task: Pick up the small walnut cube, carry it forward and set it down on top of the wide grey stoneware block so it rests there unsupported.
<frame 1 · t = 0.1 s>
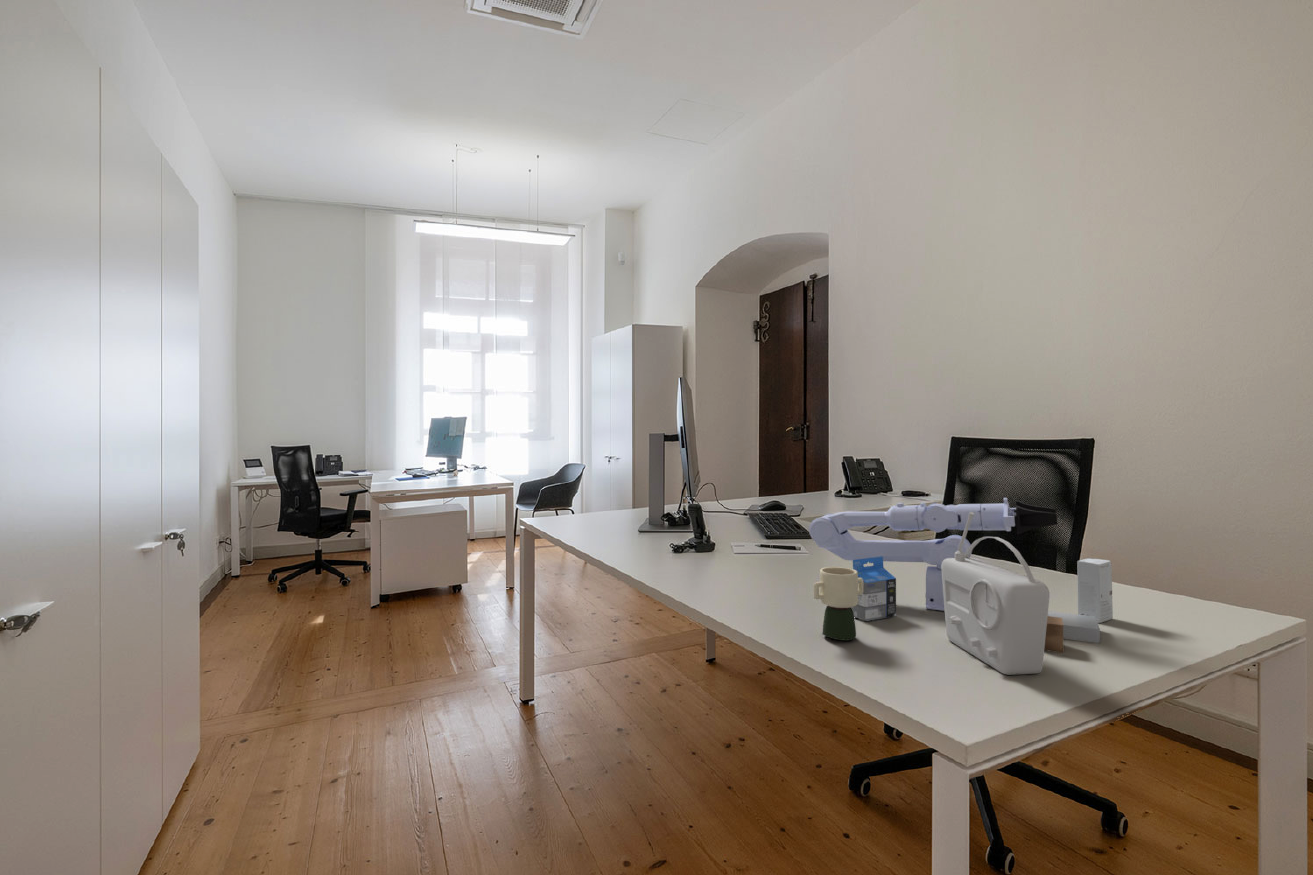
hand: (1056, 516, 128), 22 cm above the table, tool horizontal, fingers open, 7 cm apart
walnut cube: (1046, 646, 114), on the table
character mug: (839, 639, 119), on the table
stoneware block: (1069, 634, 121), on the table
ink cartridge box: (874, 618, 132), on the table
skincare box: (1094, 619, 130), on the table
radio: (987, 657, 109), on the table
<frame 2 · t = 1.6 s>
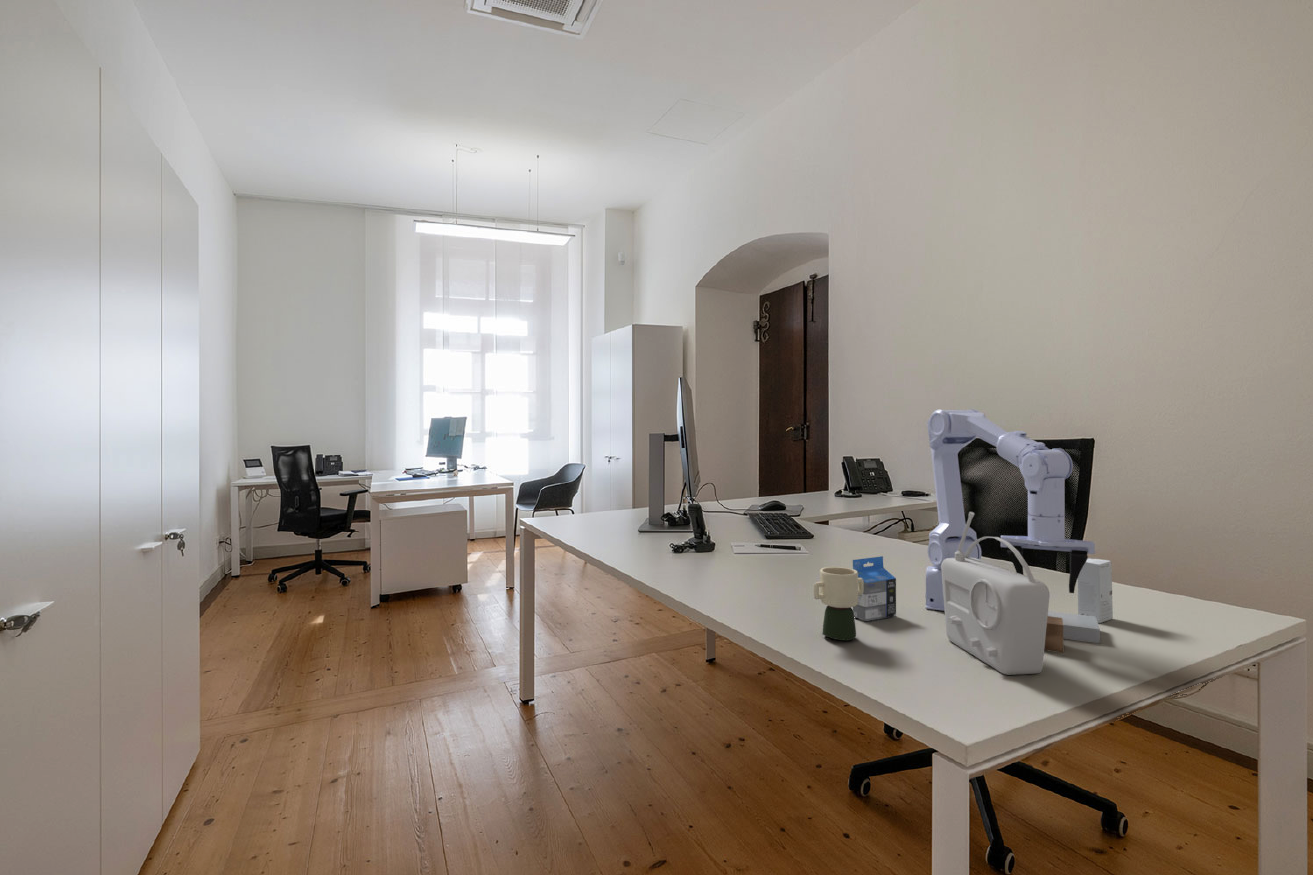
hand: (1046, 589, 114), 10 cm above the table, tool pointing down, fingers open, 7 cm apart
nothing on the table moved.
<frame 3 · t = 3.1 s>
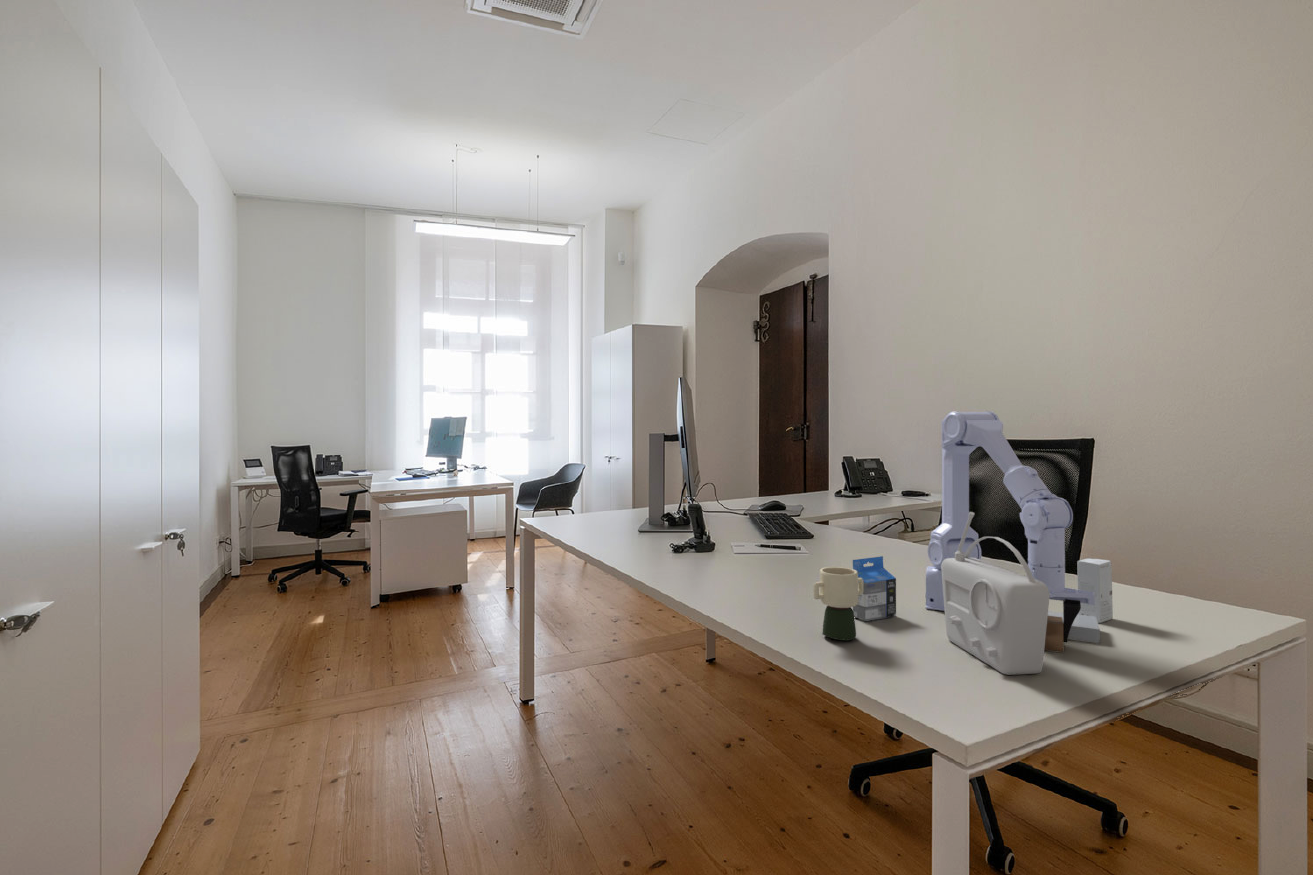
hand: (1046, 638, 114), 1 cm above the table, tool pointing down, fingers closed on walnut cube, 5 cm apart
walnut cube: (1046, 645, 114), on the table, touching gripper
everything else where it was.
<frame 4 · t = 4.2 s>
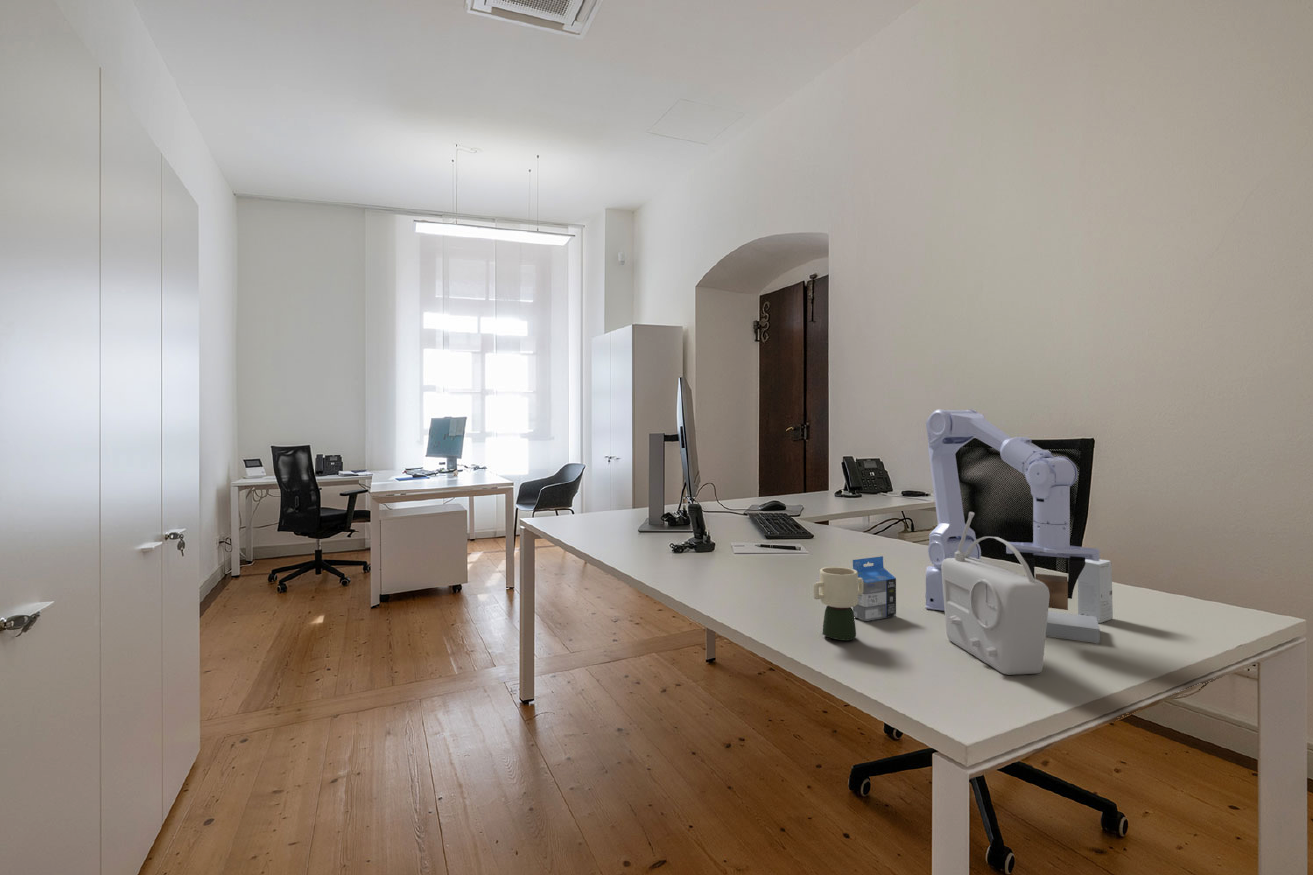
hand: (1051, 595, 115), 9 cm above the table, tool pointing down, fingers closed on walnut cube, 5 cm apart
walnut cube: (1051, 604, 115), point 7 cm above the table, touching gripper
everything else where it was.
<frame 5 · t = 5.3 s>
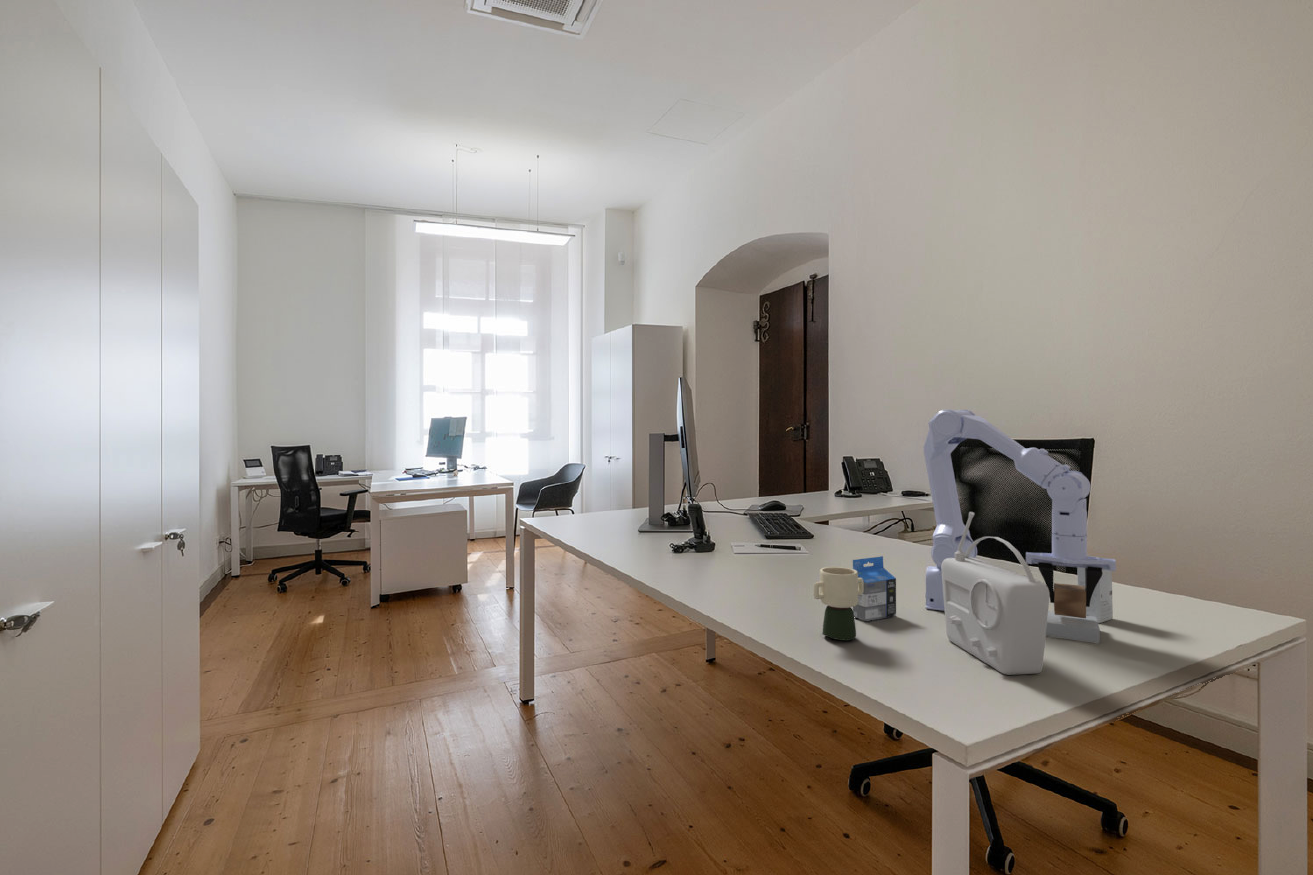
hand: (1069, 603, 121), 6 cm above the table, tool pointing down, fingers closed on walnut cube, 5 cm apart
walnut cube: (1069, 612, 121), point 4 cm above the table, touching gripper
everything else where it was.
when the fingers open (6 cm above the table, at t = 5.7 s): walnut cube drops 1 cm, point 2 cm above the table.
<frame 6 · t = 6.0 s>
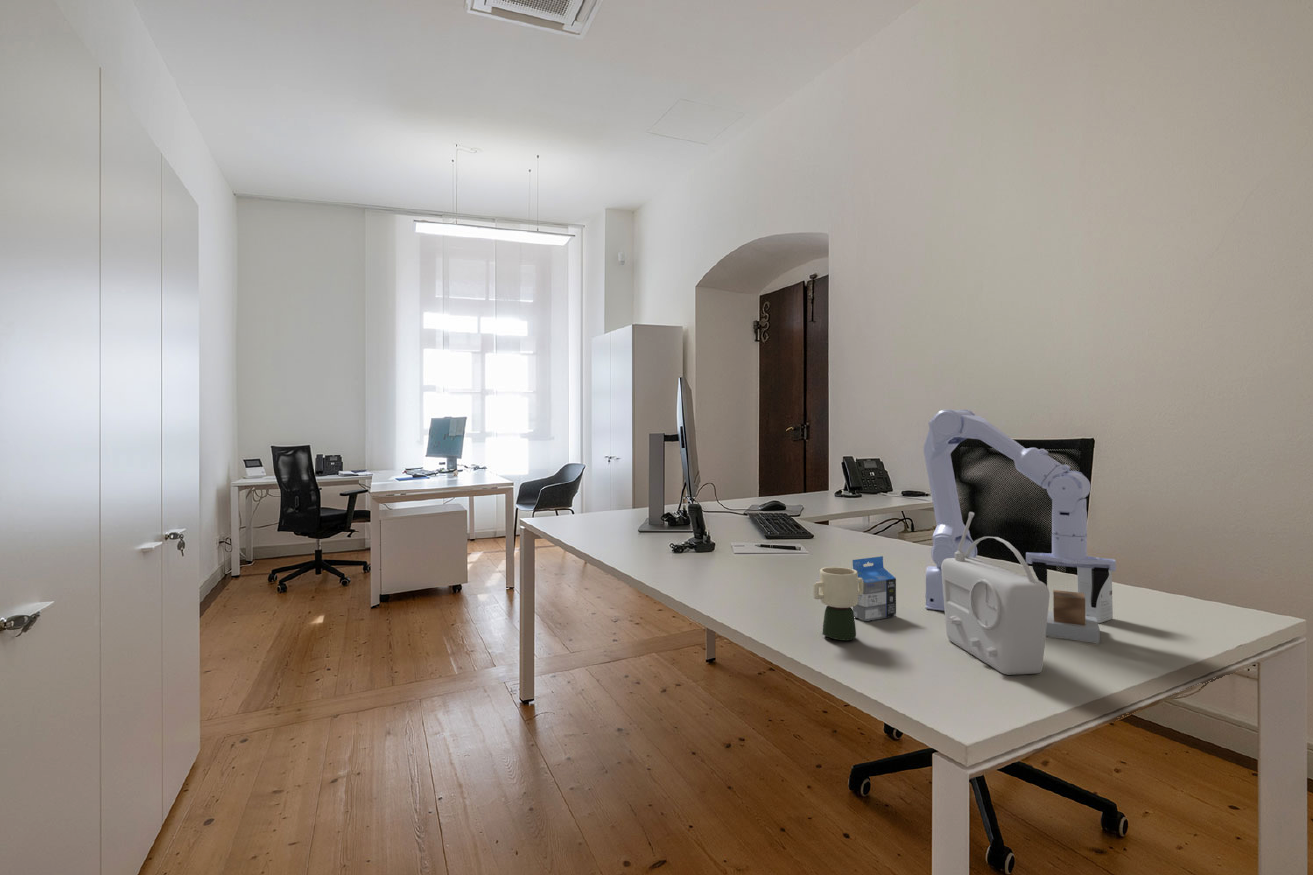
hand: (1069, 603, 121), 6 cm above the table, tool pointing down, fingers open, 7 cm apart
walnut cube: (1068, 619, 121), point 2 cm above the table
everything else where it was.
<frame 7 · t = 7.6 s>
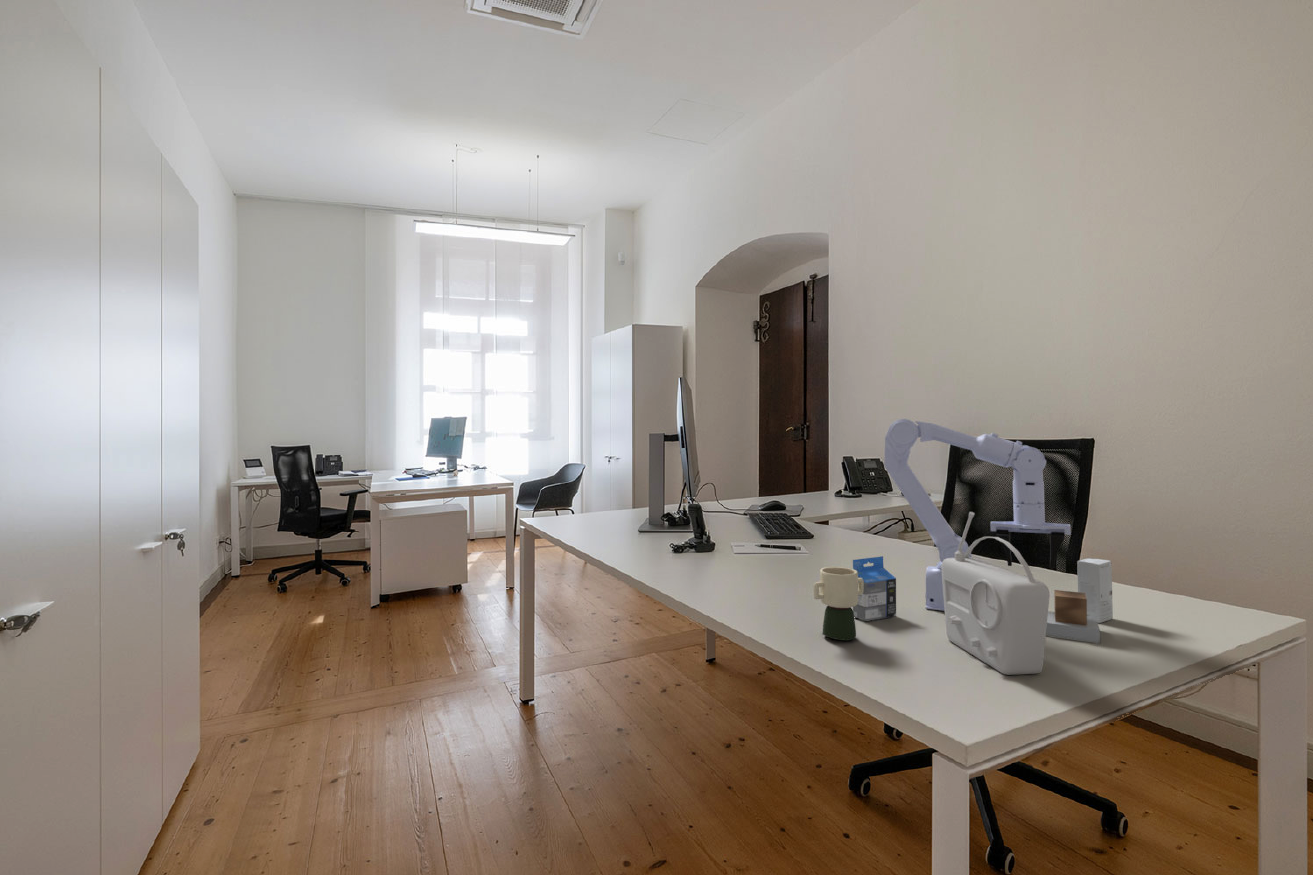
hand: (1030, 566, 132), 10 cm above the table, tool pointing down, fingers open, 7 cm apart
nothing on the table moved.
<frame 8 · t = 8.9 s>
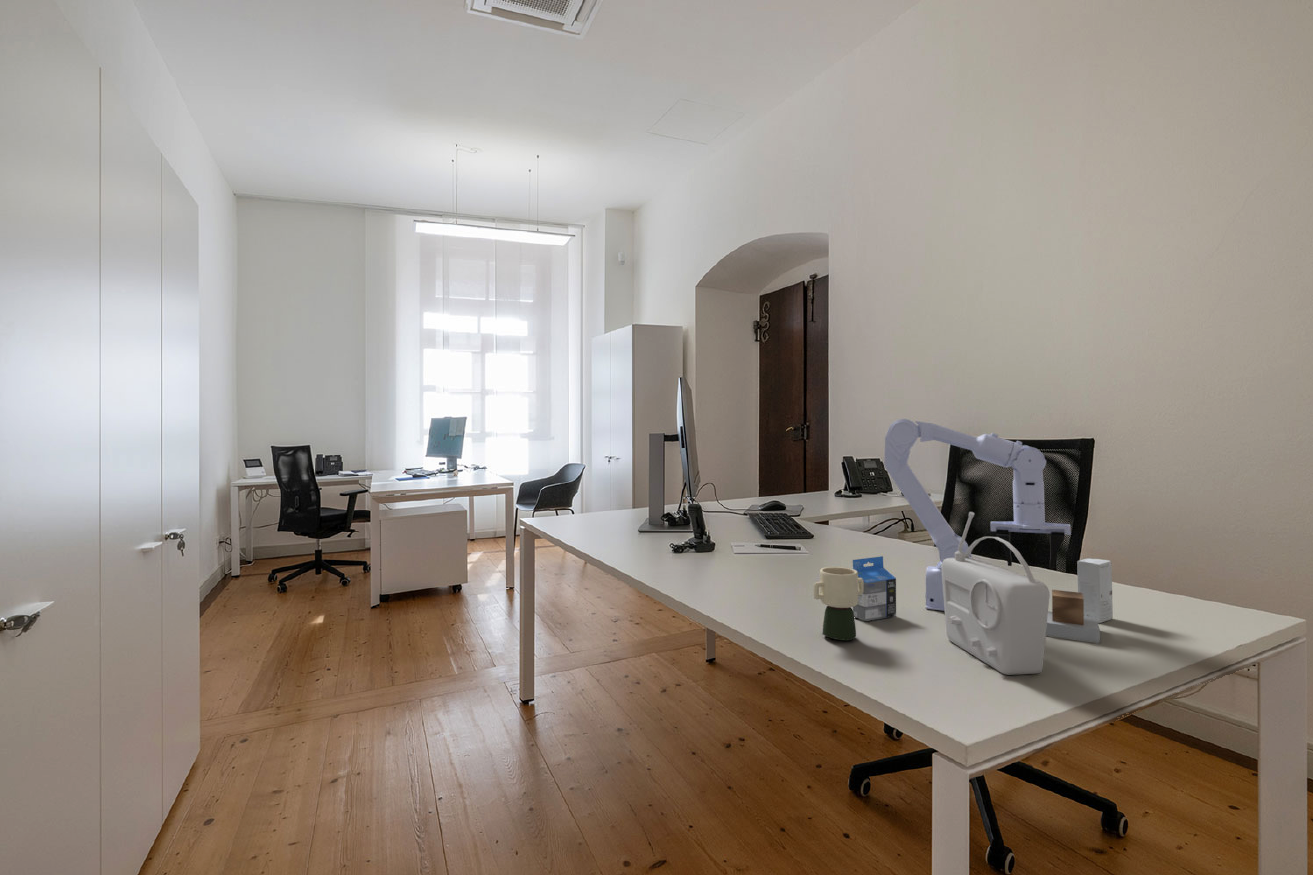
hand: (1030, 566, 132), 10 cm above the table, tool pointing down, fingers open, 7 cm apart
walnut cube: (1067, 619, 121), point 2 cm above the table, touching stoneware block
stoneware block: (1069, 635, 121), on the table, touching walnut cube
everything else where it was.
at the end: walnut cube 0.4 cm off-centre on the stoneware block, point 3.0 cm above the stoneware block's base; walnut cube tilted 0°; the gripper is holding nothing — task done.
